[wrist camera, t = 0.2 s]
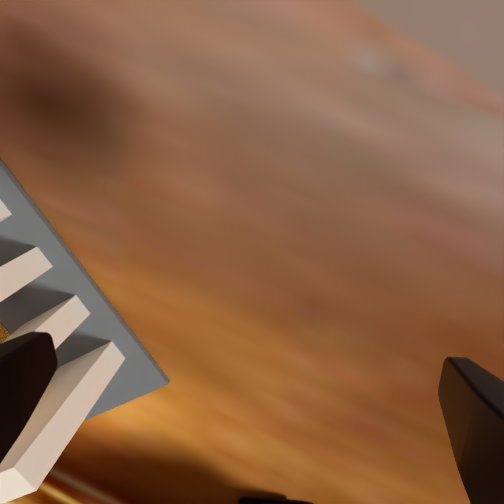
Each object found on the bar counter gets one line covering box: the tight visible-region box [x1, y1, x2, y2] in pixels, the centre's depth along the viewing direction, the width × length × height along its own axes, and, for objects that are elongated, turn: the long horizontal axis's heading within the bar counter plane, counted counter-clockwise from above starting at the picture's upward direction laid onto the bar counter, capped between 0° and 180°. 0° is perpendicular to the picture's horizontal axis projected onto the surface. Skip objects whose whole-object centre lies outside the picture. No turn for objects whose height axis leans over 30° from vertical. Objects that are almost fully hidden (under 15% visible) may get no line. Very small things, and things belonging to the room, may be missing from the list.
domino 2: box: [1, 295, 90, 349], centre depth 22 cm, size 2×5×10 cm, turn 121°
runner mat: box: [0, 159, 169, 420], centre depth 26 cm, size 24×8×1 cm, turn 31°
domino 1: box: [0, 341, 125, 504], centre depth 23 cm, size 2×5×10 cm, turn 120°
